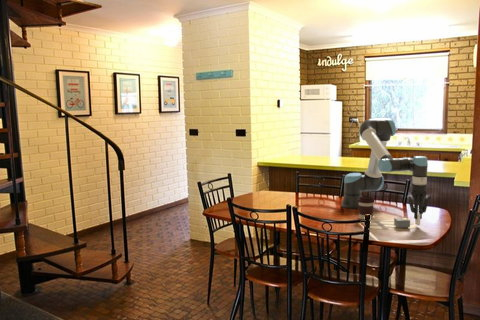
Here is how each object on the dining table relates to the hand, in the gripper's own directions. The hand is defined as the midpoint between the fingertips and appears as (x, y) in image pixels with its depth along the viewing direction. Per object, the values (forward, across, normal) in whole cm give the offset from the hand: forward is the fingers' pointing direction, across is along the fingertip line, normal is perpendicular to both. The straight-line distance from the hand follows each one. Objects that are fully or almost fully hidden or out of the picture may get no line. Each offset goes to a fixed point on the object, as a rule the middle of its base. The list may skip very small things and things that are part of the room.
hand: (417, 224), depth 227 cm
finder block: (+2, -9, 0) cm, 9 cm away
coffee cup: (+3, -23, +21) cm, 31 cm away
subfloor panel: (+3, -14, +6) cm, 16 cm away
